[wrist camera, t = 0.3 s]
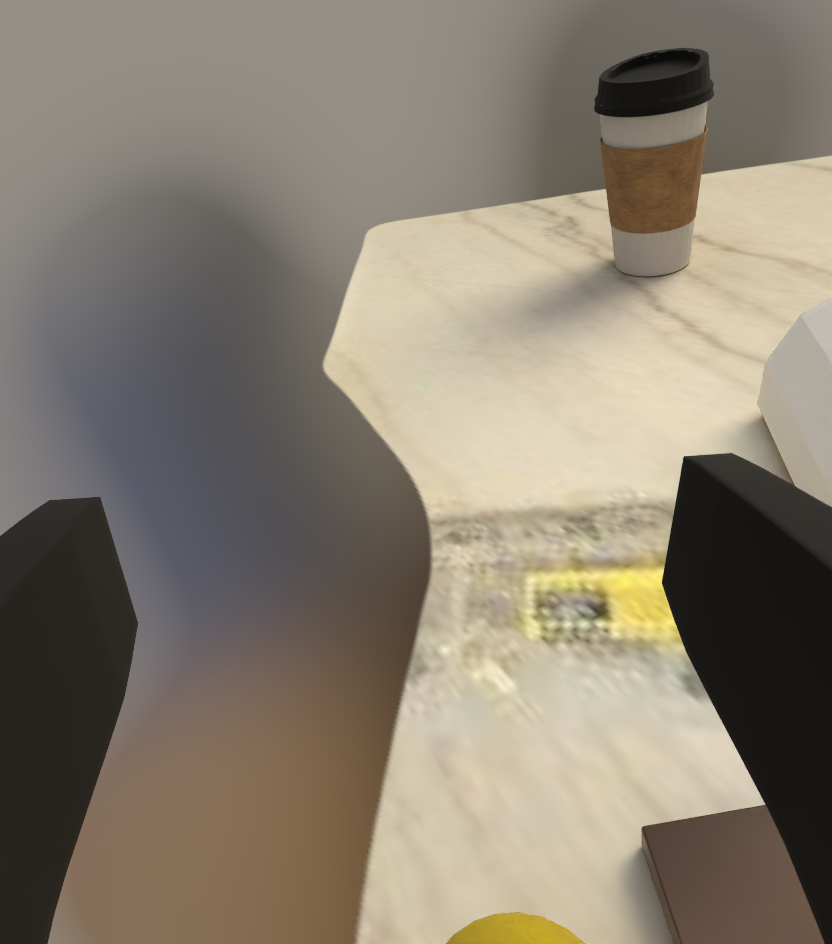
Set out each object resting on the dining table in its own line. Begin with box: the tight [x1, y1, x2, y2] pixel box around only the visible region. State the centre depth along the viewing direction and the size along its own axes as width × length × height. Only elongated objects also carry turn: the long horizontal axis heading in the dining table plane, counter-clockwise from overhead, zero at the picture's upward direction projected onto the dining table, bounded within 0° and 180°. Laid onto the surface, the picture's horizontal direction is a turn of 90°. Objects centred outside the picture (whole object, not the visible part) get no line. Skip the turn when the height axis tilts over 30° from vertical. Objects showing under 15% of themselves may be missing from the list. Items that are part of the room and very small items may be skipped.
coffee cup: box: [594, 48, 714, 276], centre depth 60 cm, size 8×8×15 cm
